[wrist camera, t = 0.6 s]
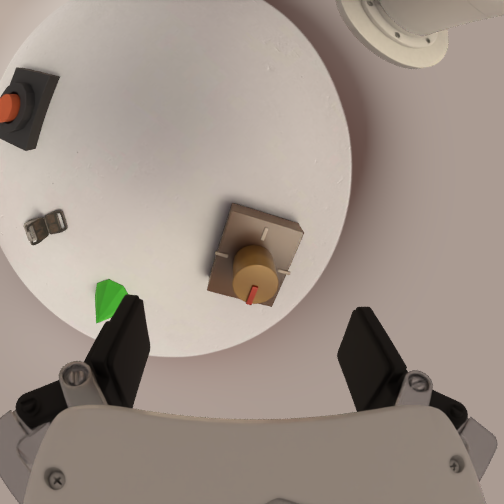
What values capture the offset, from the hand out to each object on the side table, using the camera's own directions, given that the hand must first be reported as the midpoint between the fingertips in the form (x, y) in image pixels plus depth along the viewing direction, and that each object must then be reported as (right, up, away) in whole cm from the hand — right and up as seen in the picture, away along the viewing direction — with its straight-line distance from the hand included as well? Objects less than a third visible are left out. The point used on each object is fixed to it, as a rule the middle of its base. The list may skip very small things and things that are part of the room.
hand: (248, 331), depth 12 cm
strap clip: (-29, +7, +19) cm, 35 cm away
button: (-29, +21, +8) cm, 37 cm away
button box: (-29, +23, +11) cm, 39 cm away
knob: (0, +2, +19) cm, 19 cm away
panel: (0, +3, +21) cm, 22 cm away
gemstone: (-20, -3, +24) cm, 31 cm away
